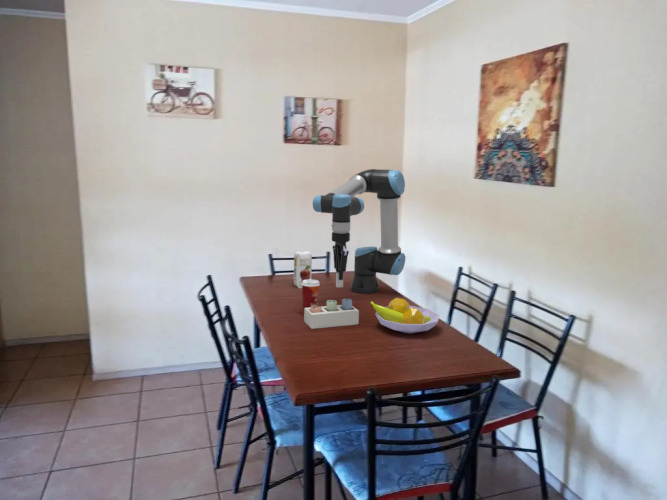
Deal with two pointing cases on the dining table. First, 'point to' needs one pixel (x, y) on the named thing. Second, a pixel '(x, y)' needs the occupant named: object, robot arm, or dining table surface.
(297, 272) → the juice carton
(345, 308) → the button one
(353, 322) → the panel
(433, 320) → the fruit bowl
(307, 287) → the coffee cup
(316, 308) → the button three
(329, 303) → the button two
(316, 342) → the dining table surface
